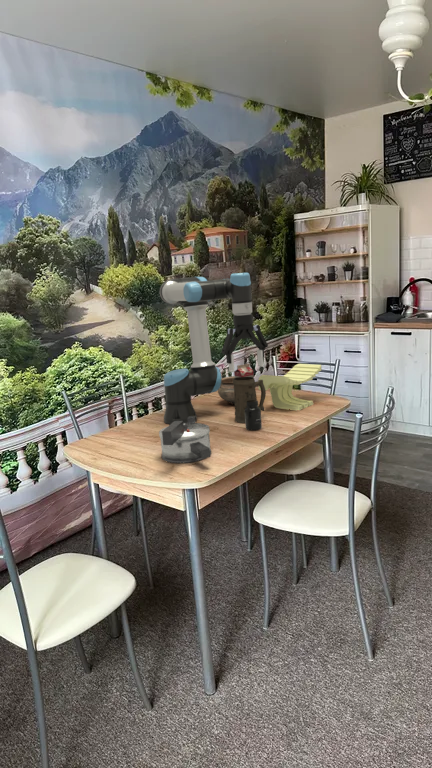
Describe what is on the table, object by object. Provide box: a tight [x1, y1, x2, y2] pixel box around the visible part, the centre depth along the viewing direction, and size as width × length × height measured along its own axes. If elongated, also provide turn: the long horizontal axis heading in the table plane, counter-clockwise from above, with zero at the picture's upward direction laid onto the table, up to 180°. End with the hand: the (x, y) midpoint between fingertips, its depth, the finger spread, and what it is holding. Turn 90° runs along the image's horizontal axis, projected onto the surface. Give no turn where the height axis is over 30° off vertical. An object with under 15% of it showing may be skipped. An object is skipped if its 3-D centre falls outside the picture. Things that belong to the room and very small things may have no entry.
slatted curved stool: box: [257, 363, 322, 411], centre depth 259 cm, size 30×16×18 cm, turn 138°
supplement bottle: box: [244, 399, 262, 432], centre depth 226 cm, size 7×7×12 cm
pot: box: [159, 433, 212, 464], centre depth 197 cm, size 31×18×8 cm, turn 26°
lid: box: [158, 415, 211, 445], centre depth 196 cm, size 30×19×6 cm, turn 165°
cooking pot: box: [217, 375, 235, 405], centre depth 276 cm, size 25×19×12 cm
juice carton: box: [233, 363, 255, 379], centre depth 260 cm, size 7×7×22 cm
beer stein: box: [233, 377, 267, 424], centre depth 241 cm, size 15×10×20 cm
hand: (246, 369), depth 210 cm, fingers open, 13 cm apart
